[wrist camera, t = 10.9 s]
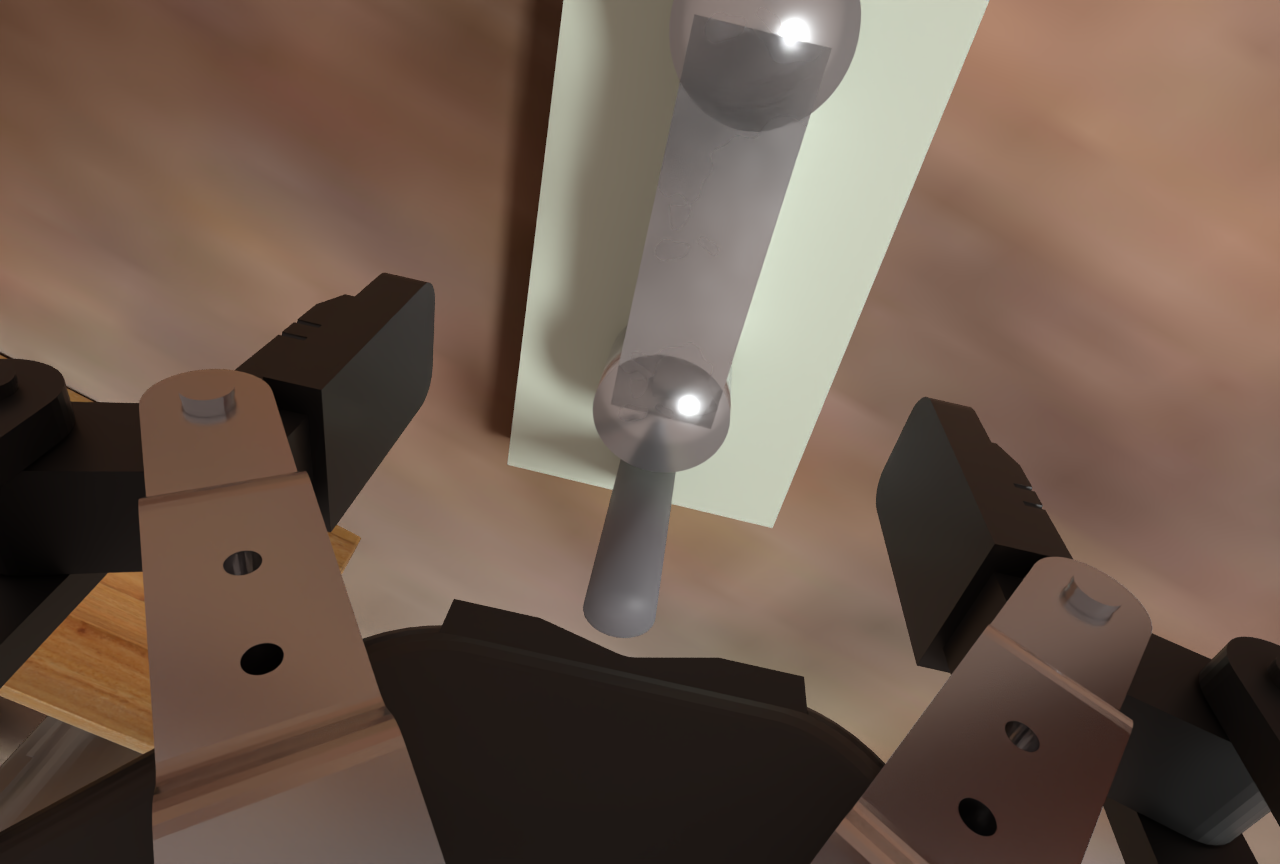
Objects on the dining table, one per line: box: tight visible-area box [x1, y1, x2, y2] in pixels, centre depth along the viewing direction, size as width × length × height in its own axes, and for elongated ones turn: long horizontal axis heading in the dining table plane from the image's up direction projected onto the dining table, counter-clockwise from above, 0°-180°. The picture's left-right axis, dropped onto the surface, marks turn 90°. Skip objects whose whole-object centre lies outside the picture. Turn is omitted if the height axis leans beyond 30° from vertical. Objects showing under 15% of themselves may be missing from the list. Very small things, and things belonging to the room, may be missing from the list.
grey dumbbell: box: [593, 0, 861, 473], centre depth 19 cm, size 14×4×3 cm, turn 168°
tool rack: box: [507, 0, 989, 638], centre depth 18 cm, size 21×10×8 cm, turn 169°
